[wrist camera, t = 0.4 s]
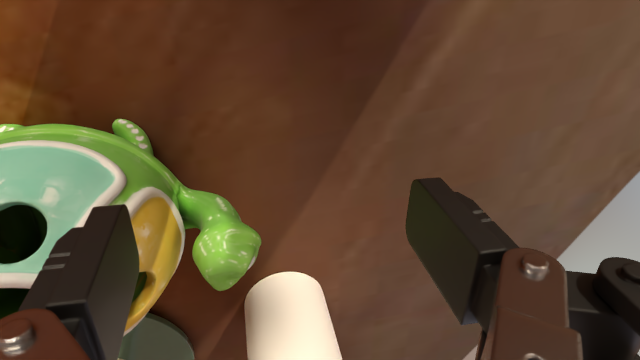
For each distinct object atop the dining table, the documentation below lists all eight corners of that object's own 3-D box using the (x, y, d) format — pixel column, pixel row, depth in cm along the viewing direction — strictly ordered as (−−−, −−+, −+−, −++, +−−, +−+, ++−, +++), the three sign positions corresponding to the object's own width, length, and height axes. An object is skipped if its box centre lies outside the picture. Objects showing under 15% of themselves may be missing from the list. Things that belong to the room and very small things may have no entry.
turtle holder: (250, 254, 35) (263, 386, 24) (-4, 267, 30) (-114, 432, 20) (254, 111, 29) (274, 207, 19) (-60, 102, 25) (-256, 220, 14)
